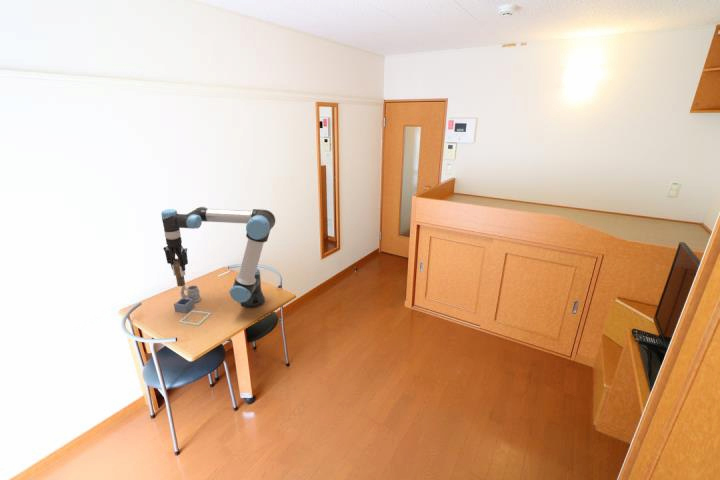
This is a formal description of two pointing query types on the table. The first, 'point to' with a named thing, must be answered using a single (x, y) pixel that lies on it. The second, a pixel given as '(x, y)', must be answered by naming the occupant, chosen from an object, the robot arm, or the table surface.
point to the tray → (195, 323)
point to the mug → (191, 293)
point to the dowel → (178, 273)
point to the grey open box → (184, 305)
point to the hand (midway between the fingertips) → (179, 274)
